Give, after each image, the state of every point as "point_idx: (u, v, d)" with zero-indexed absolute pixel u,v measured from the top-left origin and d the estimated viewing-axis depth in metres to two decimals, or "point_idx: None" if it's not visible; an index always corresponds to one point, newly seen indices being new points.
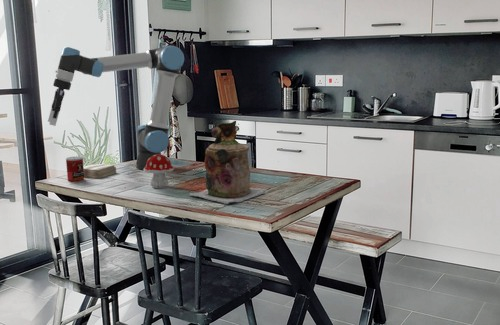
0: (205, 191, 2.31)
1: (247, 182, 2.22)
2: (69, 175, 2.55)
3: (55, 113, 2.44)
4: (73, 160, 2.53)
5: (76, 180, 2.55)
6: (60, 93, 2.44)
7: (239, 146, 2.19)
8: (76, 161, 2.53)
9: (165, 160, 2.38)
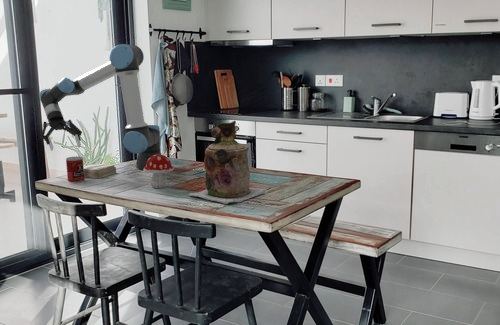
0: (205, 191, 2.31)
1: (247, 182, 2.22)
2: (69, 175, 2.55)
3: (45, 140, 2.62)
4: (73, 160, 2.53)
5: (76, 180, 2.55)
6: (43, 125, 2.67)
7: (239, 146, 2.19)
8: (76, 161, 2.53)
9: (165, 160, 2.38)
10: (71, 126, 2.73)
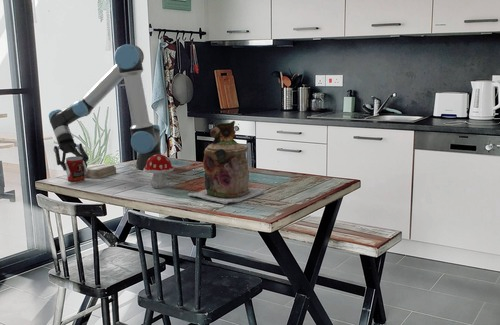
0: (204, 191, 2.31)
1: (246, 182, 2.22)
2: None
3: (62, 166, 2.54)
4: (73, 160, 2.53)
5: (76, 180, 2.55)
6: (54, 150, 2.58)
7: (238, 146, 2.19)
8: (76, 161, 2.53)
9: (165, 160, 2.38)
10: (80, 150, 2.64)
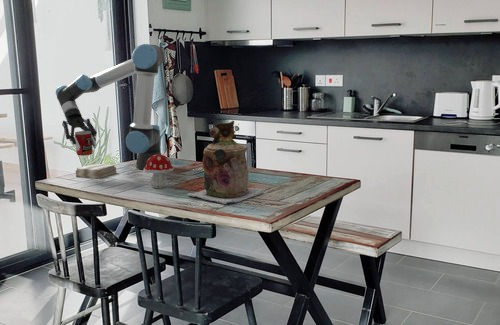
0: (203, 191, 2.31)
1: (245, 182, 2.22)
2: None
3: (71, 140, 2.58)
4: (82, 134, 2.57)
5: (85, 154, 2.59)
6: (63, 125, 2.62)
7: (237, 146, 2.19)
8: (85, 135, 2.58)
9: (165, 160, 2.38)
10: (88, 125, 2.68)
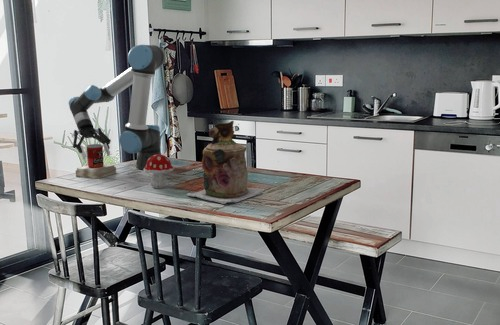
0: (202, 191, 2.31)
1: (244, 182, 2.22)
2: (89, 162, 2.67)
3: (78, 148, 2.65)
4: (93, 147, 2.65)
5: (96, 166, 2.67)
6: (74, 134, 2.69)
7: (236, 146, 2.19)
8: (96, 148, 2.65)
9: (165, 160, 2.38)
10: (100, 134, 2.76)
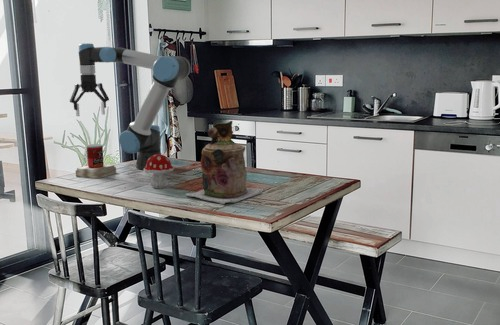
0: (201, 191, 2.31)
1: (243, 182, 2.22)
2: (89, 162, 2.67)
3: (74, 105, 2.73)
4: (93, 147, 2.65)
5: (96, 166, 2.67)
6: (75, 86, 2.72)
7: (235, 146, 2.19)
8: (96, 148, 2.65)
9: (165, 160, 2.38)
10: (100, 90, 2.81)
